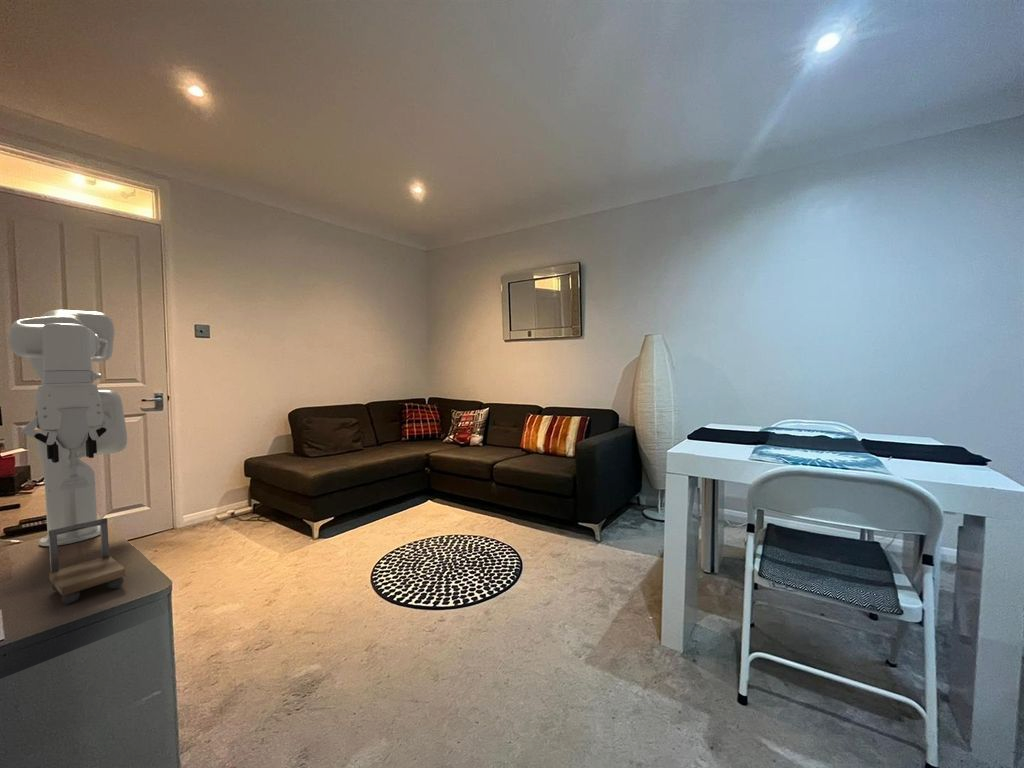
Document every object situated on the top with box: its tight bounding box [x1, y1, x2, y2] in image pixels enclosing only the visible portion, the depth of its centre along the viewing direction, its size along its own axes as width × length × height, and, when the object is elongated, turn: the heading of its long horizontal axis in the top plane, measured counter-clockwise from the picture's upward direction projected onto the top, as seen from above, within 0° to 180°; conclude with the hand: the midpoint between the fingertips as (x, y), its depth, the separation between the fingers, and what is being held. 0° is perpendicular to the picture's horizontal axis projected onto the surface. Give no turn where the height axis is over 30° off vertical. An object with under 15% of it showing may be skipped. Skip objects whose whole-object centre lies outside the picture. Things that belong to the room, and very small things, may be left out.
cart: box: [47, 517, 126, 605], centre depth 85 cm, size 12×9×12 cm
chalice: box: [56, 407, 90, 490], centre depth 94 cm, size 7×7×18 cm
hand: (73, 458), depth 94 cm, fingers closed on chalice, 4 cm apart
